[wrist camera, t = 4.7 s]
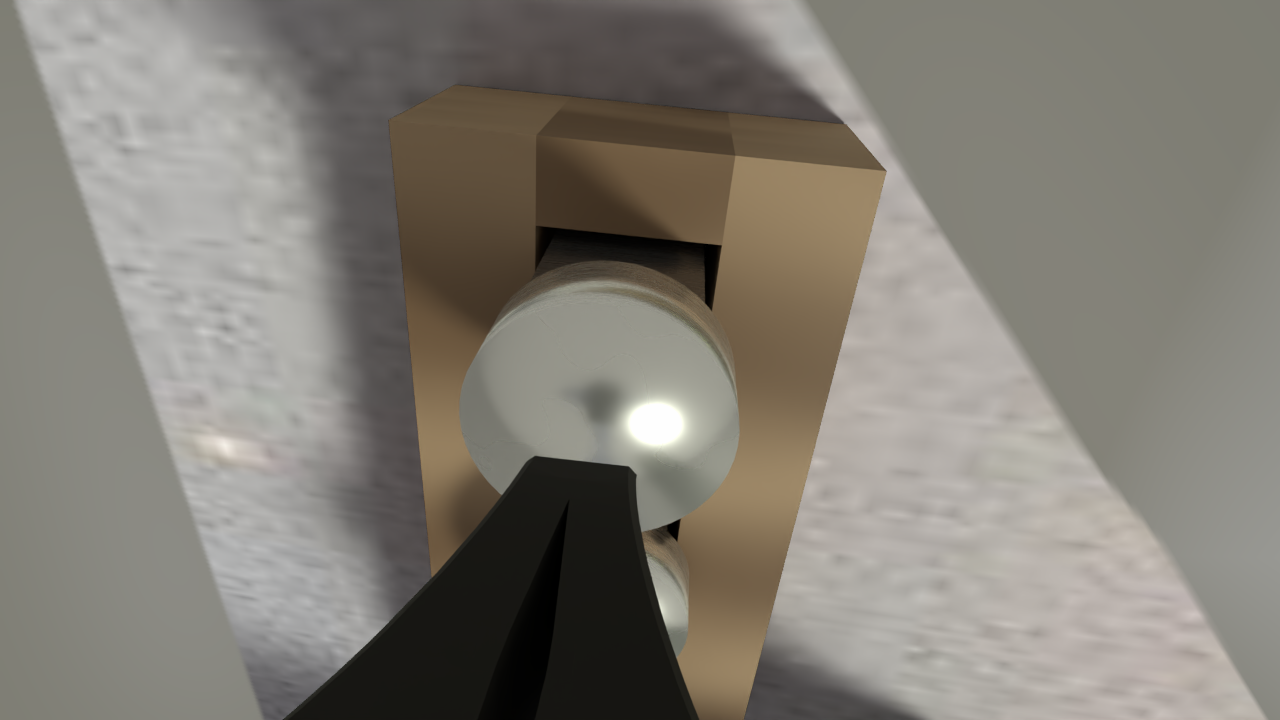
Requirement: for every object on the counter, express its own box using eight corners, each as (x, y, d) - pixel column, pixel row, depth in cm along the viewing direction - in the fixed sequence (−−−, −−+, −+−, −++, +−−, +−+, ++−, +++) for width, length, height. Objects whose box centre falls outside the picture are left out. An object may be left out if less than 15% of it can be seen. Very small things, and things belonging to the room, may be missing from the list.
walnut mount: (718, 696, 27) (720, 807, 23) (482, 668, 27) (450, 774, 23) (846, 124, 16) (886, 171, 13) (455, 84, 16) (388, 120, 13)
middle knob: (682, 533, 22) (677, 694, 17) (544, 517, 22) (500, 673, 17) (699, 419, 20) (699, 567, 15) (546, 402, 20) (496, 544, 15)
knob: (713, 378, 17) (718, 548, 12) (532, 358, 17) (464, 518, 12) (741, 199, 15) (761, 320, 10) (533, 178, 15) (451, 287, 10)
